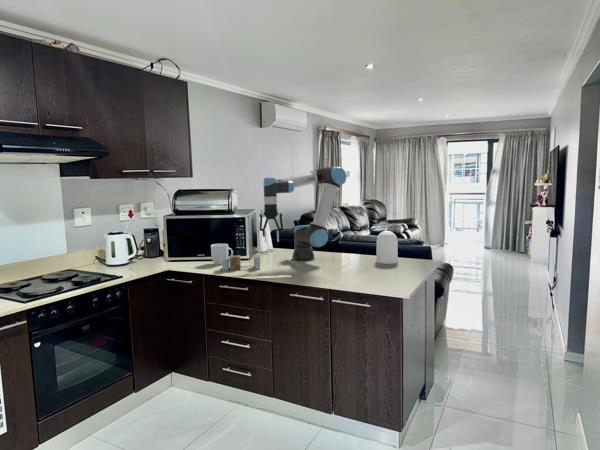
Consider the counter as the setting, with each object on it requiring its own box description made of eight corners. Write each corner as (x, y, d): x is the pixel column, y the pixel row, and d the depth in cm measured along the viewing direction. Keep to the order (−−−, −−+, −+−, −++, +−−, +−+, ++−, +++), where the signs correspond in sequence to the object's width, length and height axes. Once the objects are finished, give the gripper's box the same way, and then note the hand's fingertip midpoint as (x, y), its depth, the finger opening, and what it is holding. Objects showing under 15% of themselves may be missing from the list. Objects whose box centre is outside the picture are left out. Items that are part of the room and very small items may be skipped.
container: (372, 261, 269) (372, 230, 266) (387, 258, 276) (387, 228, 274) (386, 264, 257) (387, 232, 255) (402, 261, 265) (402, 230, 262)
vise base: (261, 267, 256) (261, 265, 256) (262, 272, 245) (261, 269, 244) (220, 269, 254) (220, 267, 254) (219, 274, 242) (219, 271, 242)
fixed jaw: (229, 268, 252) (229, 256, 252) (228, 271, 244) (228, 259, 243) (223, 268, 252) (223, 257, 251) (222, 271, 244) (222, 259, 243)
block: (240, 268, 252) (240, 255, 251) (240, 270, 246) (239, 257, 245) (230, 268, 251) (230, 255, 250) (230, 270, 245) (229, 257, 245)
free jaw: (260, 266, 254) (259, 255, 254) (260, 269, 246) (259, 257, 245) (254, 266, 254) (254, 255, 253) (254, 269, 246) (254, 257, 245)
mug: (228, 261, 278) (228, 242, 276) (237, 263, 270) (236, 244, 268) (208, 264, 269) (207, 244, 267) (216, 267, 260) (215, 246, 259)
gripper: (286, 202, 251) (287, 240, 254) (253, 203, 249) (255, 241, 252) (287, 203, 244) (288, 242, 246) (253, 204, 242) (255, 243, 244)
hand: (271, 241), depth 249 cm, fingers open, 7 cm apart
